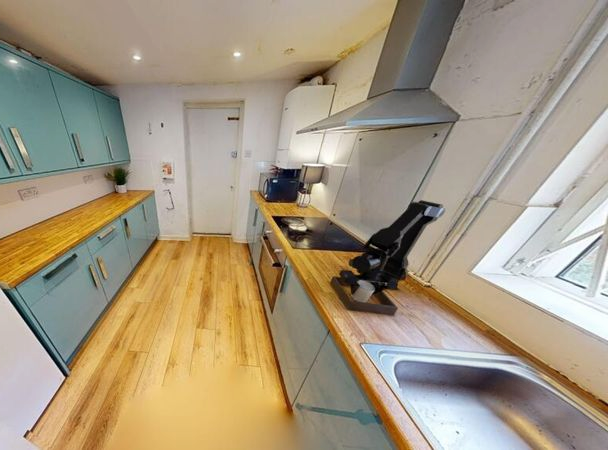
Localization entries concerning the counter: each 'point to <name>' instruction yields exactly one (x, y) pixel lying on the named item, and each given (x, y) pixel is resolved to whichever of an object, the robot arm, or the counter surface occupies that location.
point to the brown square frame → (385, 308)
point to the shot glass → (363, 291)
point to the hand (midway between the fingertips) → (360, 294)
